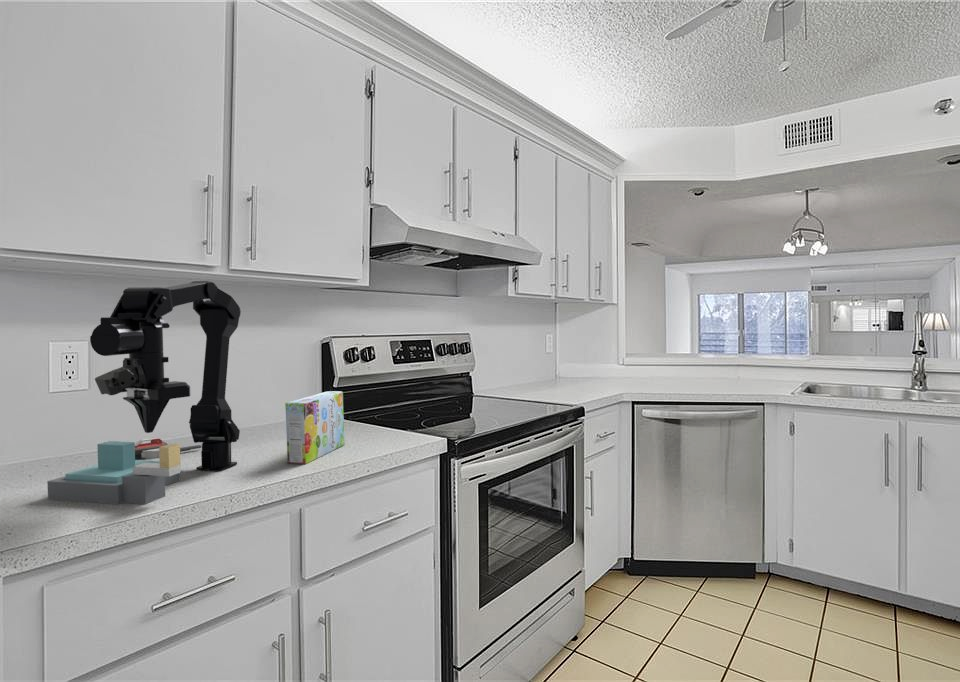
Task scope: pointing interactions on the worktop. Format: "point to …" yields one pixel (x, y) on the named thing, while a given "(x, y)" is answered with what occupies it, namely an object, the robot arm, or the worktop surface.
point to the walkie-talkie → (154, 448)
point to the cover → (110, 463)
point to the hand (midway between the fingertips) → (148, 432)
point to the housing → (112, 489)
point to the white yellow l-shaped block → (162, 463)
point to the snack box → (314, 426)
